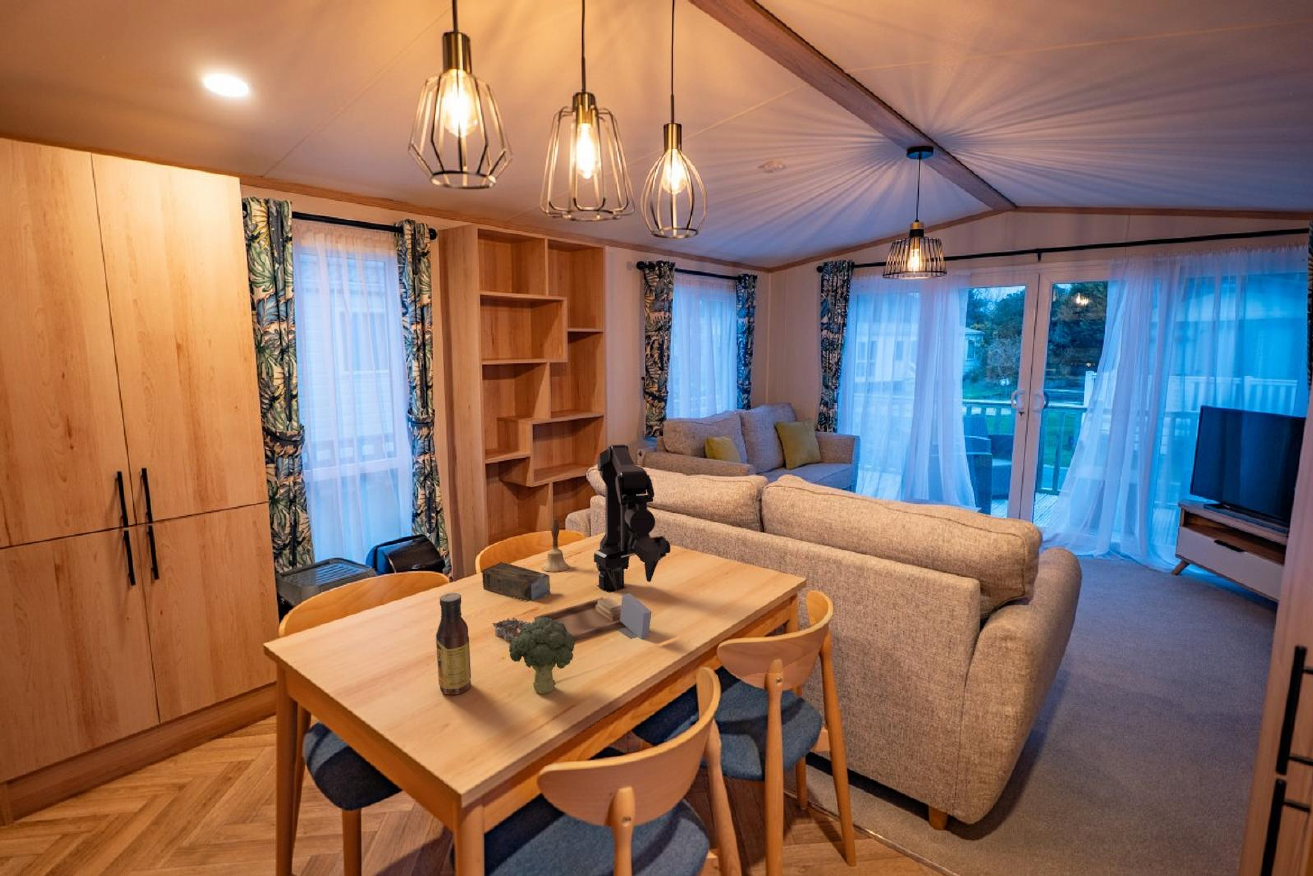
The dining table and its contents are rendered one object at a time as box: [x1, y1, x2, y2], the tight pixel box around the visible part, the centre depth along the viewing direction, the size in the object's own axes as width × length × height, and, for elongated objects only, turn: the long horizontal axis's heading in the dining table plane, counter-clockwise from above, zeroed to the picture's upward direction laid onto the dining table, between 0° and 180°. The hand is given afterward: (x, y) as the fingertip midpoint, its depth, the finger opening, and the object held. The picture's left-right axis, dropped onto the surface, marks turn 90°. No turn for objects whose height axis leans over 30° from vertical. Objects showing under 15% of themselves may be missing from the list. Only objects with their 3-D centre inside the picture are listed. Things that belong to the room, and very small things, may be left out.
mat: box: [616, 626, 652, 640], centre depth 148 cm, size 6×6×1 cm
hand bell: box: [541, 517, 570, 573], centre depth 191 cm, size 8×8×16 cm
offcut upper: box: [598, 597, 622, 614], centre depth 157 cm, size 4×6×2 cm, turn 37°
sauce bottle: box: [435, 592, 472, 696], centre depth 122 cm, size 7×6×20 cm
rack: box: [533, 597, 625, 642], centre depth 153 cm, size 20×15×2 cm
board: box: [620, 593, 652, 640], centre depth 147 cm, size 2×9×7 cm, turn 37°
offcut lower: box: [596, 604, 621, 621], centre depth 158 cm, size 4×8×2 cm, turn 37°
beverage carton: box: [481, 561, 551, 602], centre depth 173 cm, size 8×19×7 cm, turn 59°
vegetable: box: [508, 617, 575, 695], centre depth 122 cm, size 12×13×15 cm
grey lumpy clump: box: [491, 617, 532, 642], centre depth 145 cm, size 11×8×4 cm
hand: (633, 586), depth 147 cm, fingers open, 9 cm apart
